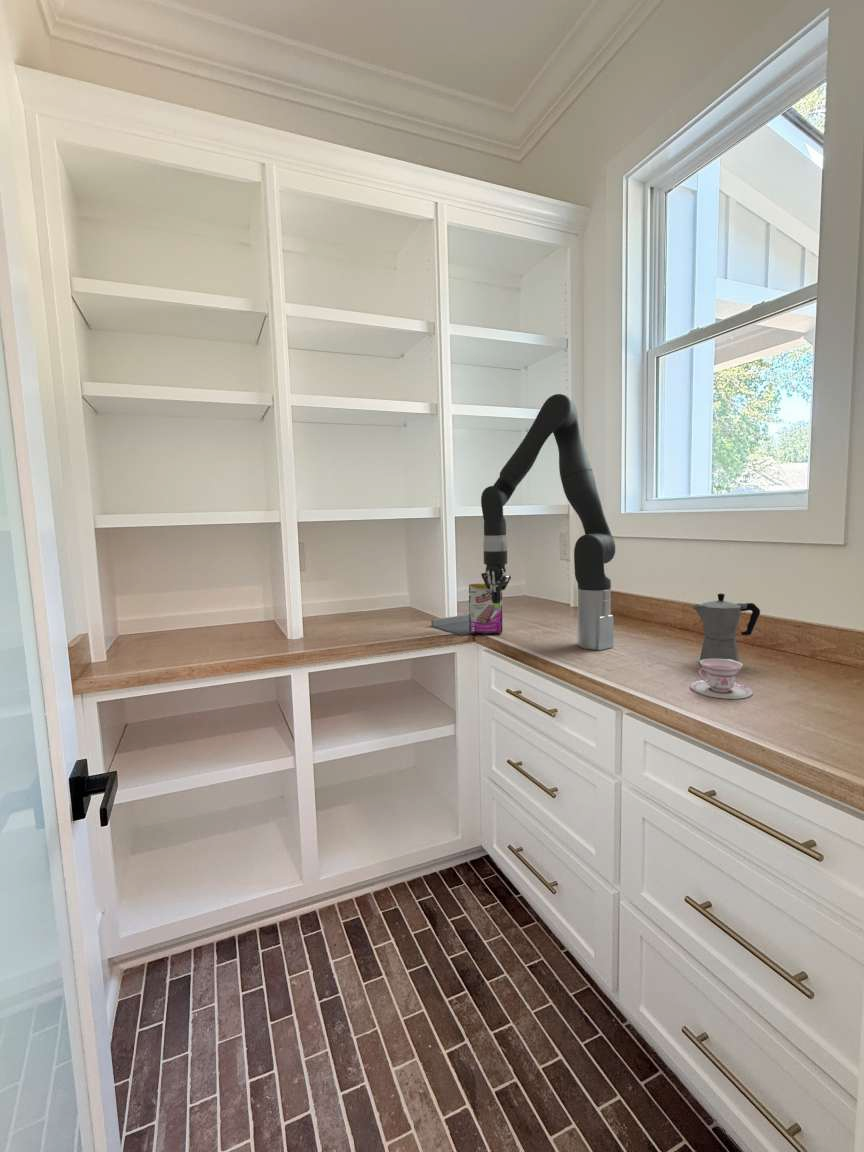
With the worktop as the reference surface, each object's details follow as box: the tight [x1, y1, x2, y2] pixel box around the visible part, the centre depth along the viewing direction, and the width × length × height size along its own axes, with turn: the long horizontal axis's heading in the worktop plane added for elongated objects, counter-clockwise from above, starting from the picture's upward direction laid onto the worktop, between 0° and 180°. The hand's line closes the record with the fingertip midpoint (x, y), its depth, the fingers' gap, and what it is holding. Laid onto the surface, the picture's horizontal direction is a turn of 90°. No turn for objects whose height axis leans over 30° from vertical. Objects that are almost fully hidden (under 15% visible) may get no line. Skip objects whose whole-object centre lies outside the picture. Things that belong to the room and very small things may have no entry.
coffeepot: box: [691, 593, 761, 662], centre depth 134 cm, size 15×9×18 cm, turn 74°
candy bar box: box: [468, 582, 504, 634], centre depth 177 cm, size 11×5×16 cm, turn 84°
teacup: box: [689, 658, 753, 700], centre depth 115 cm, size 12×12×6 cm
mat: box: [430, 613, 477, 637], centre depth 188 cm, size 20×16×2 cm
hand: (496, 603), depth 171 cm, fingers closed
